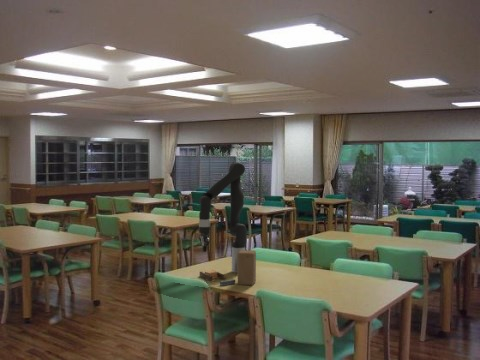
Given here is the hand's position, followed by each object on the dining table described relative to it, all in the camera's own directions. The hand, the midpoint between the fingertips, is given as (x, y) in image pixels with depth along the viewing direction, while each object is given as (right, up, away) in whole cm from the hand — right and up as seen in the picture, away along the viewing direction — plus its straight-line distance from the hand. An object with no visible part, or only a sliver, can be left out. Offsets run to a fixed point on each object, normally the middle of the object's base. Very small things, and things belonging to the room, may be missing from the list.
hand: (204, 251), depth 320 cm
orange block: (+5, -16, -7) cm, 18 cm away
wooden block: (+28, -17, -23) cm, 40 cm away
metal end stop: (+16, -17, -26) cm, 35 cm away
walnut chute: (+5, -16, -8) cm, 19 cm away
